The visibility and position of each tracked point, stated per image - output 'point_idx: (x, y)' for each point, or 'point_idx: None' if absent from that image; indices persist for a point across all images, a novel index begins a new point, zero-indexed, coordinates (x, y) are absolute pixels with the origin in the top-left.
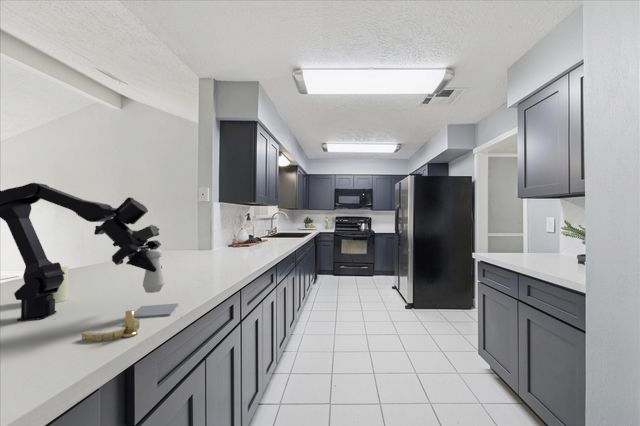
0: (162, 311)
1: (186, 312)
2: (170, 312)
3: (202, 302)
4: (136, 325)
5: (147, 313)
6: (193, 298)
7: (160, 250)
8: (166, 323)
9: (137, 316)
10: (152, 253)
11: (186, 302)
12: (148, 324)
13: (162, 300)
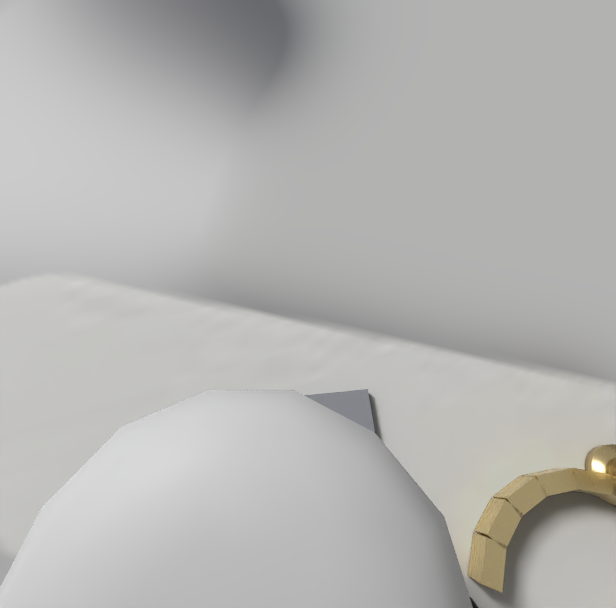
0: None
1: (325, 332)
2: (347, 393)
3: (179, 303)
4: (575, 469)
5: None
6: (81, 365)
7: (205, 412)
8: (465, 370)
9: None
10: (459, 577)
11: (151, 380)
12: (480, 447)
13: None
